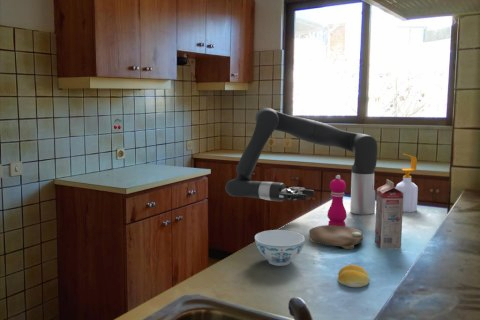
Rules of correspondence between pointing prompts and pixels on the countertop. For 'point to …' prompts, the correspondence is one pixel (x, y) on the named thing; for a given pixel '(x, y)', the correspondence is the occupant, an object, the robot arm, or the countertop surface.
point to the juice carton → (388, 217)
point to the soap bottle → (409, 188)
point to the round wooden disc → (336, 236)
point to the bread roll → (353, 276)
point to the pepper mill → (337, 203)
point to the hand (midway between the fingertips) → (310, 195)
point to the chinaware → (279, 245)
